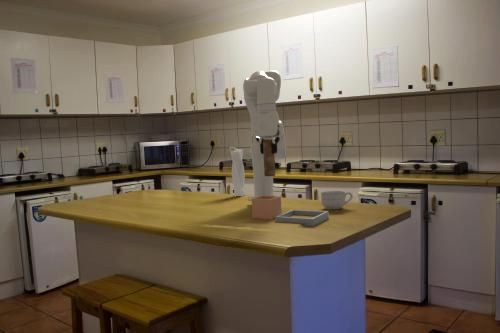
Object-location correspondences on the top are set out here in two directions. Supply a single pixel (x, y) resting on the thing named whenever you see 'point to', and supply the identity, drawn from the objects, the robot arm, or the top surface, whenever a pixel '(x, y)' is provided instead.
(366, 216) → the top surface
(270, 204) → the pink cube box
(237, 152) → the skyscraper
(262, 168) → the robot arm
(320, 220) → the tray
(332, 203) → the teacup
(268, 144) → the dowel pin
